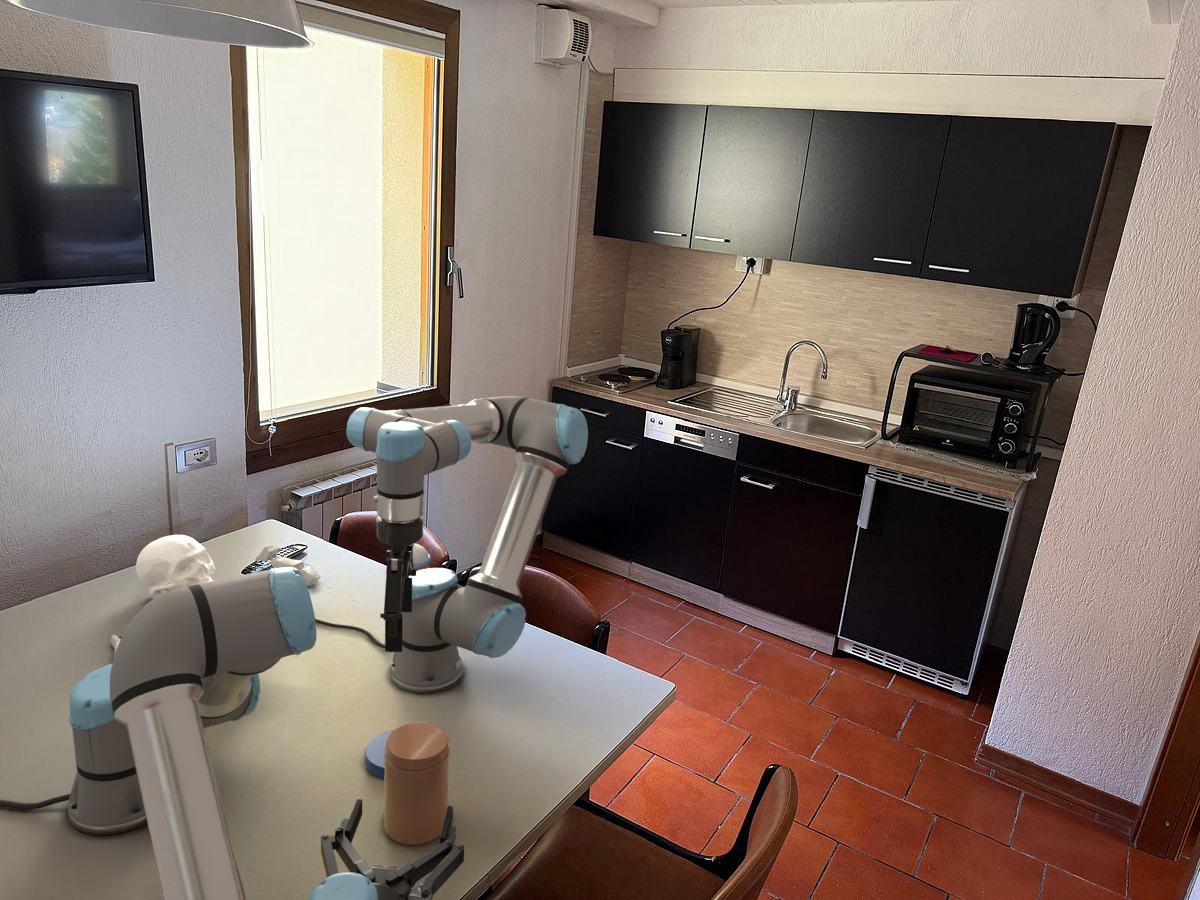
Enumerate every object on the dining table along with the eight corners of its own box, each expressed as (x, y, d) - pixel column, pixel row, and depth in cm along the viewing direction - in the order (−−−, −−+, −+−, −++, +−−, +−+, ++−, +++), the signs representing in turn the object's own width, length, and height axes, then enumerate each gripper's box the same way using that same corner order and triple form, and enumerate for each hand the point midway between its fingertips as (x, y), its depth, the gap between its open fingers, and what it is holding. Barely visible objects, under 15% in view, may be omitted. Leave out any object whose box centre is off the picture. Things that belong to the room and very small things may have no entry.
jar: (397, 853, 134) (397, 768, 129) (375, 812, 142) (375, 731, 137) (457, 831, 139) (460, 749, 135) (433, 793, 148) (435, 714, 143)
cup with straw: (421, 606, 210) (422, 538, 205) (387, 600, 212) (387, 533, 206) (435, 590, 219) (437, 525, 213) (402, 584, 220) (403, 520, 215)
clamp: (253, 565, 223) (254, 542, 221) (265, 560, 226) (266, 537, 224) (309, 593, 215) (310, 569, 213) (320, 588, 218) (321, 564, 216)
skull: (201, 621, 195) (199, 557, 191) (123, 601, 201) (119, 539, 197) (241, 598, 208) (239, 537, 203) (167, 580, 213) (163, 521, 209)
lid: (394, 788, 148) (394, 777, 147) (352, 760, 154) (352, 749, 153) (441, 758, 157) (442, 747, 156) (400, 732, 163) (400, 722, 162)
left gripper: (269, 944, 109) (322, 824, 129) (464, 958, 110) (486, 836, 130) (267, 897, 107) (321, 783, 127) (467, 912, 107) (489, 795, 128)
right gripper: (387, 488, 153) (387, 595, 159) (364, 545, 129) (364, 669, 135) (430, 490, 153) (428, 597, 160) (414, 547, 130) (412, 669, 136)
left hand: (405, 809), depth 129 cm, fingers open, 13 cm apart
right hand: (399, 630), depth 148 cm, fingers open, 13 cm apart
